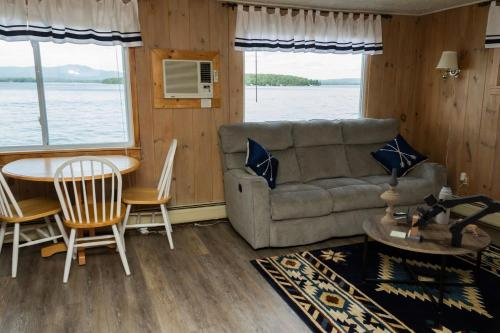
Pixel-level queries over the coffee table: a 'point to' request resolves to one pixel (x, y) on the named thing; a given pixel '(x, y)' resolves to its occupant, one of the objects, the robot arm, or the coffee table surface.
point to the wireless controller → (410, 216)
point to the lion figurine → (471, 228)
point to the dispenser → (412, 238)
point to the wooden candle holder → (391, 200)
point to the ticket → (414, 229)
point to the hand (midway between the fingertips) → (412, 225)
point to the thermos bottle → (443, 217)
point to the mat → (398, 234)
